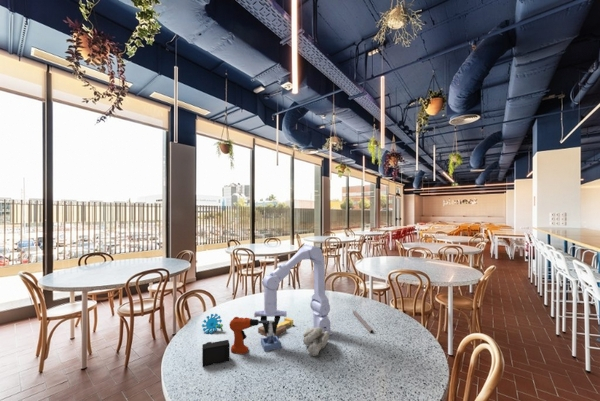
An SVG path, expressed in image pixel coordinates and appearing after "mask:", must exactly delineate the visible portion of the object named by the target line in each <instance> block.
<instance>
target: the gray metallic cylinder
mask: <svg viewBox="0 0 600 401" xmlns="http://www.w3.org/2000/svg"><path fill="white" fill-rule="evenodd" d="M268 321H269V323H267V336H266V337H267V343H268V344H273V343H274V342H275V337H274V320H268Z"/></svg>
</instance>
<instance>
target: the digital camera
mask: <svg viewBox="0 0 600 401" xmlns="http://www.w3.org/2000/svg"><path fill="white" fill-rule="evenodd" d="M201 352H202V353H201V355H202V356H201V357H202V358H201V361H202V362H201V363H202V368H205V367H209V366H214V365H218V364H224V363H228V362H230V358H231V357H230V352H231V347H230V340H229V339H225V340H219V341H213V342H212V341H208V342H206V343H203V344H202V348H201Z"/></svg>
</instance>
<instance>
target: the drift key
mask: <svg viewBox="0 0 600 401" xmlns="http://www.w3.org/2000/svg"><path fill="white" fill-rule="evenodd" d="M288 324H289V327H290V326H291V327H293V326H294V319H292V318H289V317H287V316H286V317H284V321H281V322H278V325H277V328H278V327H279V326H281V325H283V326H286V325H288ZM274 327H275V326H274Z"/></svg>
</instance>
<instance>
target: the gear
mask: <svg viewBox="0 0 600 401" xmlns="http://www.w3.org/2000/svg"><path fill="white" fill-rule="evenodd" d="M221 318H222V317H221V315H218V313H211V314H210V316H209V315H207V316H206V319H207V320H206V319H204V320H203V321H202V322H203V323H202V325H201V327H202V331H203V332H205V333H206V334H209V333H210V334H214V333H213V332H214V331H215V332H217V331H218V329H219V330H221V331H222V330H223V327H224V325H223V324H222V321H223V320H222V319H221Z"/></svg>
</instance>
